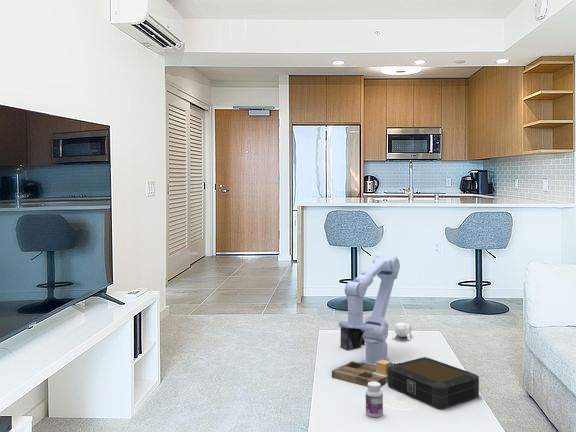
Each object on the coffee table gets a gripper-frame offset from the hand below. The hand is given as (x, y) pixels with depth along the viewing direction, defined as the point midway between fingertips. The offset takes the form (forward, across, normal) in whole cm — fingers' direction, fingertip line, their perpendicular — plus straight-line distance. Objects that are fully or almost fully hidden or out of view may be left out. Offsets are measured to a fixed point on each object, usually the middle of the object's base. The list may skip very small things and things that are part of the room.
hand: (355, 347), depth 200 cm
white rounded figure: (+10, -7, +52) cm, 53 cm away
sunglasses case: (+10, -24, +36) cm, 45 cm away
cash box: (+10, +31, -1) cm, 33 cm away
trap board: (+9, +6, -4) cm, 11 cm away
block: (+7, +12, 0) cm, 14 cm away
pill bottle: (+10, +25, -29) cm, 39 cm away
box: (+10, -19, +25) cm, 33 cm away
